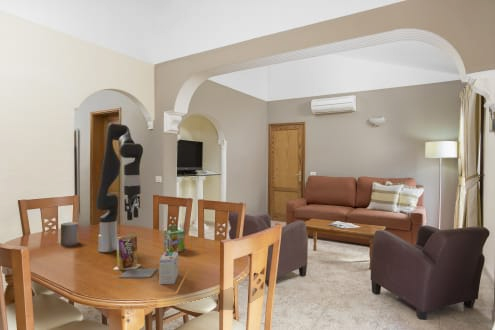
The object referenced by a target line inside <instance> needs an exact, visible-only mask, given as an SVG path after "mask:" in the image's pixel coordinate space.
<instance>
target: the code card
mask: <svg viewBox="0 0 495 330" xmlns="http://www.w3.org/2000/svg"><path fill="white" fill-rule="evenodd" d="M140 266H141V264H139V263H137V266H133V267H129V268H125V269H120V270H121V271H122V270H124V271H126V270H127V269H139V267H140ZM112 270H113V271H118V270H119V269H118V268H117V266H115V267H114V268H113V269H112ZM120 270H119V271H120Z"/></svg>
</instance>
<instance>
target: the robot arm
mask: <svg viewBox="0 0 495 330" xmlns="http://www.w3.org/2000/svg"><path fill="white" fill-rule="evenodd" d="M113 141H118V146H119V154H120V157H122V158H123V159H124V158H125V159H134V160H133V161H132V162H126V163H125V164H124V165H123V174H124V175H123V195H124V196H127V198H124V200H123V201H124V212H125V213H126V214H127V215H126V217H127V218H126V219H127V221H132V220H133V218H135V219H136V218H139V210H140V208H141V196H140V195H141V192H142V190H141V188H142V186H141V177H140V176H141V175H140V174H141V172H140V171H141V169H140V166H141V161H142V157H143V154H144V147H143V146H142V144H141V143H136V142H135V141H134V140H133V138H132V134H131V132H130V128H129V127H128V126H127V125H125V124H120V123H113V122H110V123H109V124H108V125H107V129H106V139H105V150H104V151H105V152H104V157H103V162H102V166H101V167H102V168H101V177H100V183H99V188H98V193H97V196H96V200H95V201H96V202H95V204H96V205H95V206H96V208H97V210H98V211H107V212H105V213H104V214H102V215H101V216H100V217H99V234H98V236H97V239H98V240H97V245H98V247H97V249H98V251H97V252H99V253H112V252H114V251H115V252H116V251H117V237H118V228H117V227H118V224H117V222H118V215H119V214H118V213H119V209H118V208H119V198H118V196H117V194H115V193H109V189H110V187H112V184H113V183H114V182H115V181H116V180H117V179H118V177H119V174H120V172H121V171H120V170H121V160H120V158H119V156H118V154H117V153H116V150H115V148H114V147H115V146H114V142H113Z"/></svg>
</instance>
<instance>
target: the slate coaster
mask: <svg viewBox="0 0 495 330" xmlns="http://www.w3.org/2000/svg"><path fill="white" fill-rule="evenodd" d="M157 271H158V269H157V268H137V269H127V270H124V271H123V273H121V274H120V276H119V278H118V279H123V278H124V279H126V278H127V279H130V278H131V279H134V278H135V279H138V278H139V279H147V278H149V279H151V278H152V276H154V274H155V273H156V272H157Z"/></svg>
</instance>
